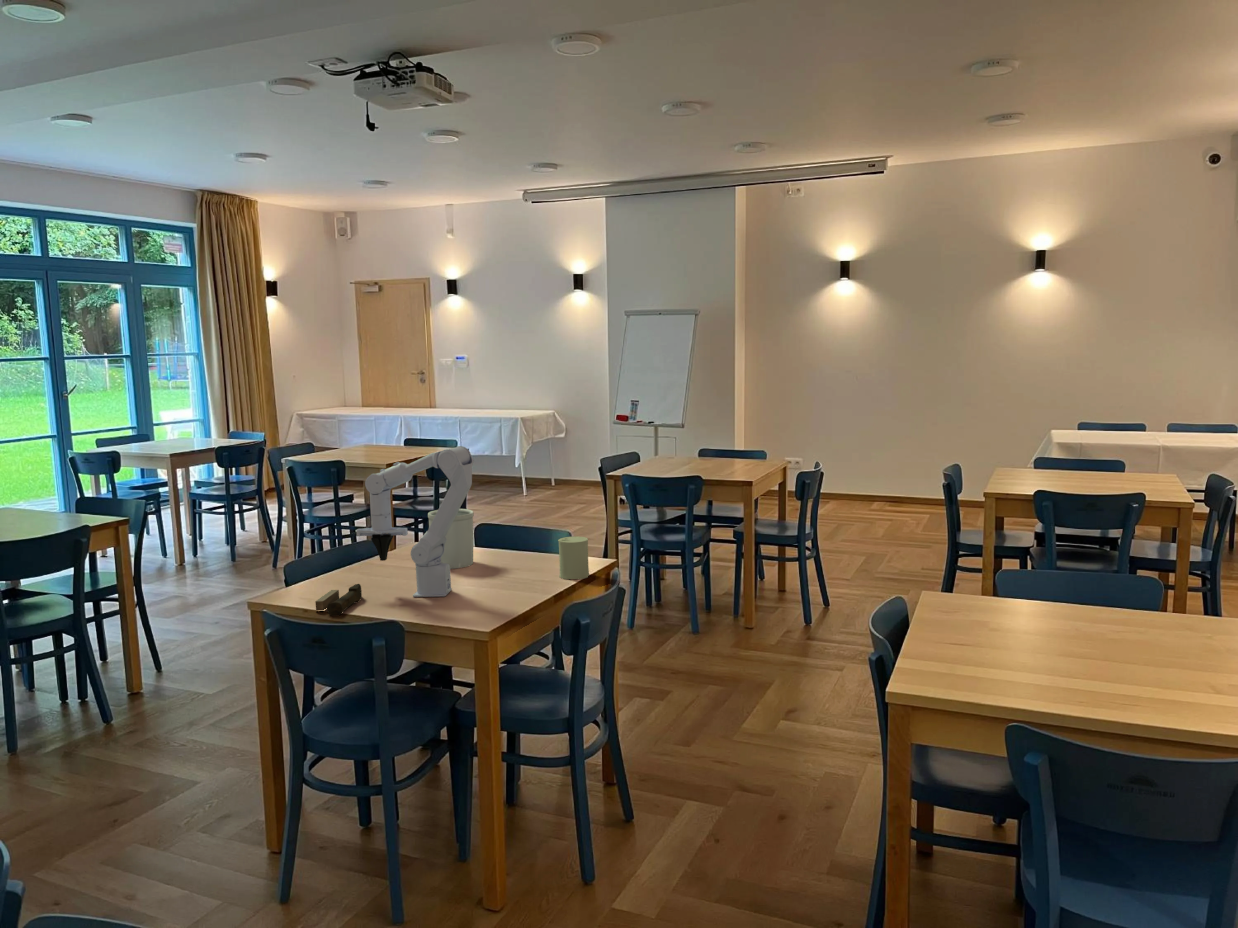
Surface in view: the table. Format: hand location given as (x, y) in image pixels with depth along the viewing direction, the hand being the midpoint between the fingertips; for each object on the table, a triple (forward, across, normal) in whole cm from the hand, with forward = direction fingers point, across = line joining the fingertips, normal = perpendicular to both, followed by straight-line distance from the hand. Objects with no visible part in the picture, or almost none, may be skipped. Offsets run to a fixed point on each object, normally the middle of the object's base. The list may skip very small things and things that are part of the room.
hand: (383, 559), depth 261 cm
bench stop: (+9, -12, -15) cm, 21 cm away
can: (+10, +54, +15) cm, 57 cm away
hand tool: (+10, -6, -15) cm, 19 cm away
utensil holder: (+10, +13, +34) cm, 37 cm away
